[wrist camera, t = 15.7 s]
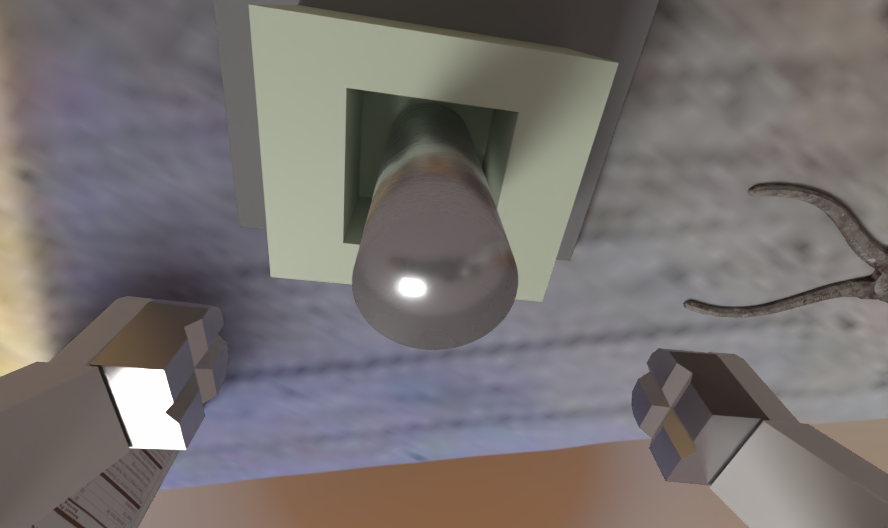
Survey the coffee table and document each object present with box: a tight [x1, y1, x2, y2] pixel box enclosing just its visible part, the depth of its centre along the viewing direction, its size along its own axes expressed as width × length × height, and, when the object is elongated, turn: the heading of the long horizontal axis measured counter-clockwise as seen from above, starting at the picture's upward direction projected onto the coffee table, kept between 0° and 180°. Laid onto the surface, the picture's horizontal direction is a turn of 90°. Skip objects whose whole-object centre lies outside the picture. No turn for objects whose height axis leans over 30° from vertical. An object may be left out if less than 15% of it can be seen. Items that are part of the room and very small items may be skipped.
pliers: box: [683, 185, 888, 317], centre depth 27 cm, size 10×1×20 cm
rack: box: [249, 4, 619, 302], centre depth 19 cm, size 12×10×6 cm
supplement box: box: [29, 448, 180, 528], centre depth 25 cm, size 7×7×13 cm
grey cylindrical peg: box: [352, 103, 518, 350], centre depth 15 cm, size 4×4×12 cm
